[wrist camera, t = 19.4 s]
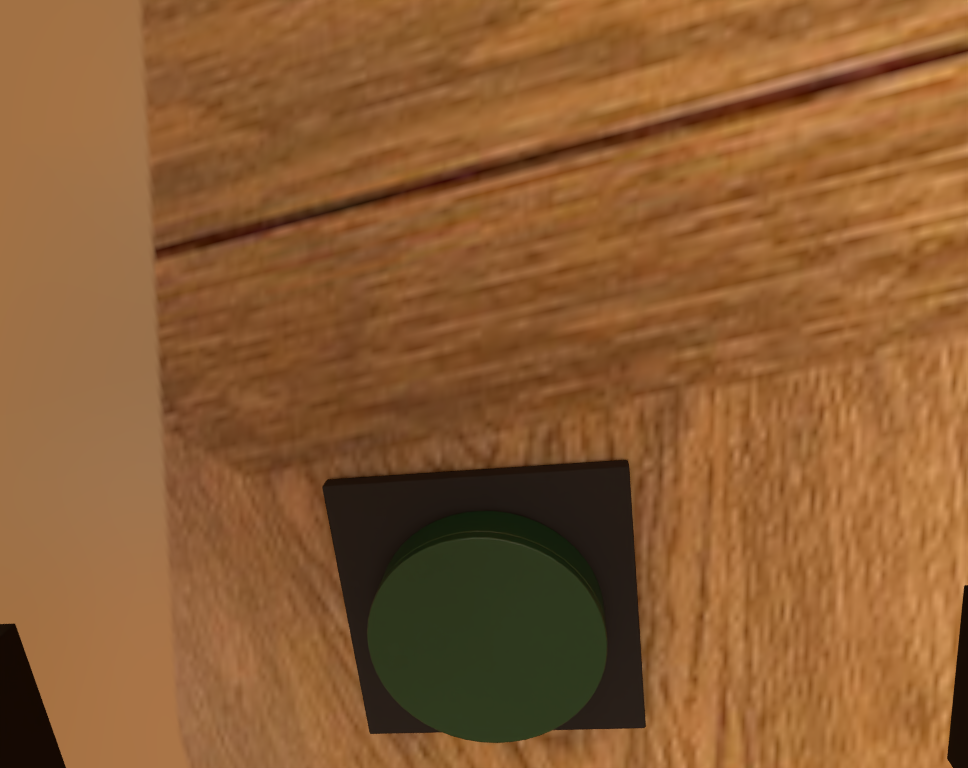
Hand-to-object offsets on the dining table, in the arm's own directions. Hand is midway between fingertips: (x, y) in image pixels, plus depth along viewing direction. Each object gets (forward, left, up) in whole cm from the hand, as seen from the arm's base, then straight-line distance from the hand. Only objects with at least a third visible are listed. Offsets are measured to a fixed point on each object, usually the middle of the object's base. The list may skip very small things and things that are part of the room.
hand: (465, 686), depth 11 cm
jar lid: (+8, -2, -12) cm, 14 cm away
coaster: (+8, -2, -14) cm, 16 cm away
